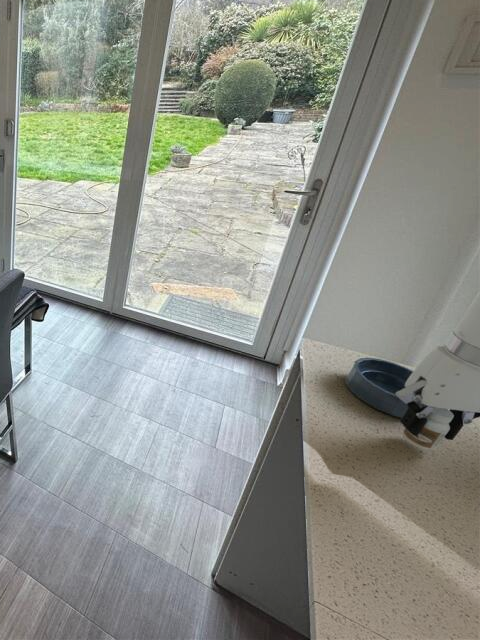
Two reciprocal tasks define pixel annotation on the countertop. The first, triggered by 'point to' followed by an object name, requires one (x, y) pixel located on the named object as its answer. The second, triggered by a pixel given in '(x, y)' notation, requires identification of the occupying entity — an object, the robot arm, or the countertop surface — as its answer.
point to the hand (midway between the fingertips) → (425, 430)
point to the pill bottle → (431, 430)
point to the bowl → (379, 384)
